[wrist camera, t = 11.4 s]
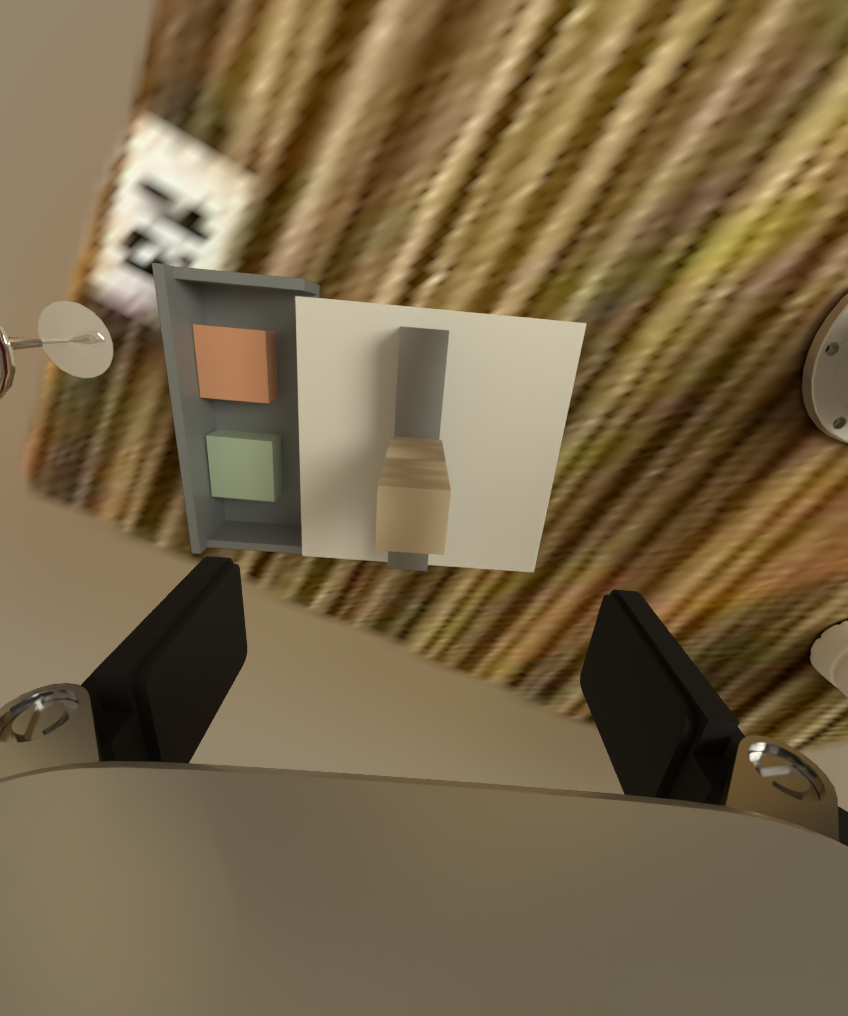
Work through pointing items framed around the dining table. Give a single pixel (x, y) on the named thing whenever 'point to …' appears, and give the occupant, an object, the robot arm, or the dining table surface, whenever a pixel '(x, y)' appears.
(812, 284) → the dining table surface
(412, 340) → the scraper
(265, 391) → the terracotta tile
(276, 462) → the green tile
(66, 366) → the wineglass
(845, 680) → the water bottle
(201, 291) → the tray
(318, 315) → the white flat square block
